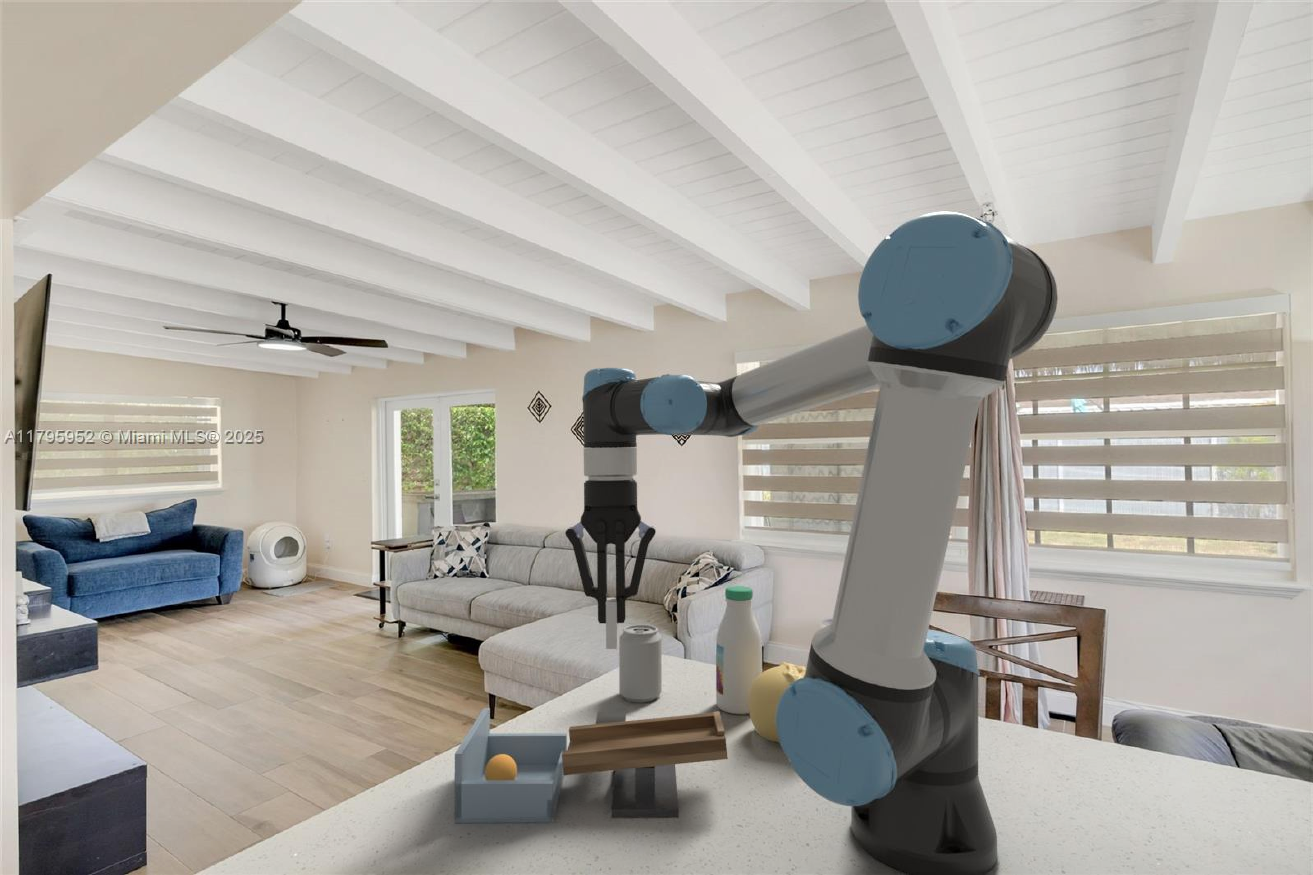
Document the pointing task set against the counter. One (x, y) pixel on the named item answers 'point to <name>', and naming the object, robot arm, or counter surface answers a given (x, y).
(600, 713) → the seesaw chute
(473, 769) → the box
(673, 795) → the pivot stand
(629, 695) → the can
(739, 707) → the milk bottle
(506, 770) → the ball
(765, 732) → the sculpture
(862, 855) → the counter surface
